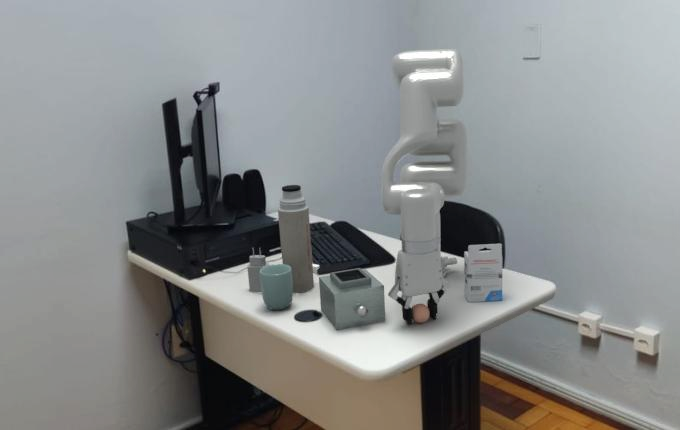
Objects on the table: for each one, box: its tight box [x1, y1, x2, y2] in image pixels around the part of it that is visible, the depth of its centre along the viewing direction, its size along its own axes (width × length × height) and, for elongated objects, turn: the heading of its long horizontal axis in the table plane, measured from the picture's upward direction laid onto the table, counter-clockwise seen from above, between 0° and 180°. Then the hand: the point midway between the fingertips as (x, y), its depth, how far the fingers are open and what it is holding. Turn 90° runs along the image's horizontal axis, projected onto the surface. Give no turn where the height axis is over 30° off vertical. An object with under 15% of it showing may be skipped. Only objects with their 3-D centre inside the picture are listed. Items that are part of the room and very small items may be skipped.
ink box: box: [463, 243, 503, 303], centre depth 152 cm, size 8×5×15 cm, turn 90°
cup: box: [260, 263, 294, 311], centre depth 154 cm, size 8×8×10 cm
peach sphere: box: [411, 303, 430, 324], centre depth 142 cm, size 4×4×4 cm
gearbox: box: [318, 267, 386, 331], centre depth 146 cm, size 12×14×10 cm
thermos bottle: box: [277, 184, 315, 294], centre depth 163 cm, size 8×8×28 cm
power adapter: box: [247, 247, 270, 293], centre depth 165 cm, size 3×5×12 cm, turn 80°
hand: (420, 319), depth 142 cm, fingers open, 5 cm apart
